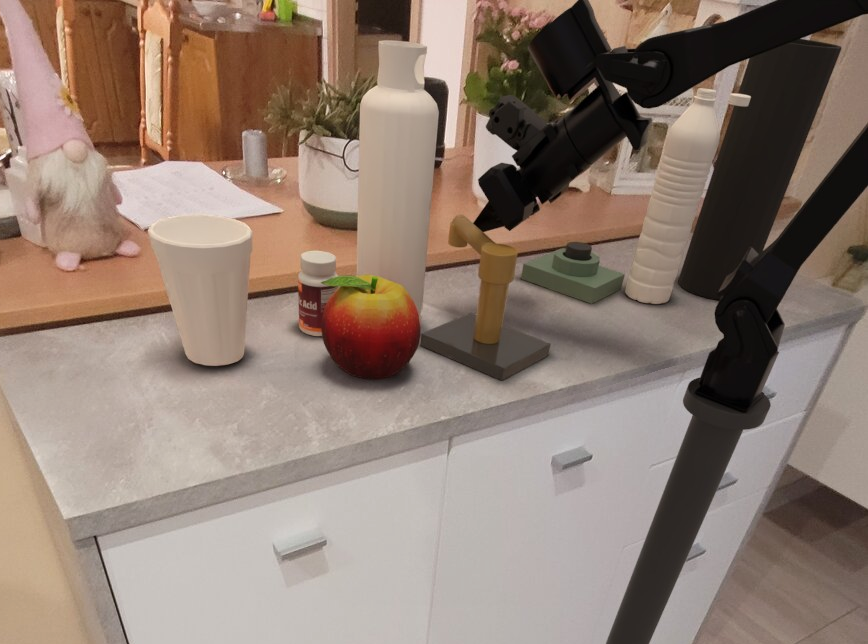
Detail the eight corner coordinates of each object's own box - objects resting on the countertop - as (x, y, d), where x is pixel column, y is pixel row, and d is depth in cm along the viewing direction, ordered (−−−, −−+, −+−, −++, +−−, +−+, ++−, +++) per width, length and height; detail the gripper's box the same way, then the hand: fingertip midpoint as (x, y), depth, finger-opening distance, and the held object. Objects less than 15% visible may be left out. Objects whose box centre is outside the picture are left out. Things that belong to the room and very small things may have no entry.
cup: (280, 354, 81) (273, 229, 72) (219, 386, 74) (203, 253, 66) (212, 330, 84) (198, 207, 75) (148, 358, 78) (124, 228, 69)
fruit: (426, 389, 78) (435, 295, 71) (326, 391, 76) (325, 294, 69) (407, 346, 85) (414, 258, 78) (316, 347, 83) (314, 256, 76)
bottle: (407, 346, 85) (429, 53, 66) (345, 332, 87) (348, 41, 68) (429, 322, 91) (454, 46, 72) (369, 309, 93) (379, 35, 73)
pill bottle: (291, 326, 87) (288, 253, 81) (321, 318, 89) (321, 246, 84) (315, 340, 84) (314, 266, 79) (346, 331, 87) (347, 258, 81)
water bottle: (616, 294, 104) (671, 85, 87) (637, 284, 108) (695, 82, 91) (670, 313, 100) (739, 98, 83) (690, 302, 104) (760, 95, 87)
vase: (671, 273, 113) (746, 32, 93) (734, 279, 113) (823, 41, 93) (686, 297, 106) (772, 41, 85) (754, 304, 106) (855, 50, 85)
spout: (518, 287, 80) (523, 255, 78) (485, 288, 79) (489, 256, 77) (469, 241, 91) (472, 211, 88) (439, 241, 89) (442, 211, 87)
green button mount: (621, 289, 106) (628, 260, 103) (591, 304, 100) (598, 274, 98) (552, 266, 111) (558, 238, 108) (520, 279, 106) (525, 250, 103)
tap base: (548, 355, 87) (563, 284, 81) (501, 380, 81) (514, 305, 75) (469, 324, 92) (478, 254, 86) (420, 345, 86) (426, 272, 80)
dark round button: (593, 259, 104) (596, 246, 102) (581, 264, 101) (584, 251, 100) (572, 252, 105) (574, 239, 104) (559, 257, 103) (562, 244, 102)
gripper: (564, 62, 82) (465, 157, 93) (509, 75, 70) (402, 183, 80) (614, 153, 86) (512, 234, 96) (570, 181, 73) (459, 272, 83)
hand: (474, 229), depth 89 cm, fingers closed
